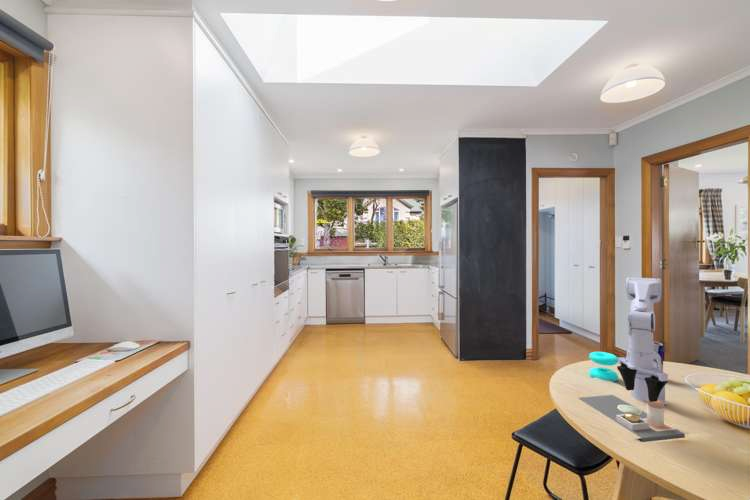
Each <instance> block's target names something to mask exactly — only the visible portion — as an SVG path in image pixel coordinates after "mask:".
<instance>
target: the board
mask: <svg viewBox="0 0 750 500" xmlns="http://www.w3.org/2000/svg"><path fill="white" fill-rule="evenodd" d="M578 399H579V400H580V401H581V402H583V403H585V404H586V405H588V406H590V407H592V408H593V409H594V410H596V411H598V413H601V414H602V415H604V416H605V417H607V418H609V419H611V420H612V421H613V422H615V423H616V424H618V425H621V427H623V428H624V429H627V430H628V431H629V432H631V433H633V434H635V435H636V436H637V440H638V441H639V442H641V443H644V442H645V443H646V442H656V441H665V440H674V439H675V440H677V439H685V438H686V437H685V436H686V435H685V432H682V431H681V430H679V429H677V428H675V427H673V426H671V425H669V424H667V423H666V422H664V427H663V428H658V427H654V426H651V425H649V423H648V422H647V412H645V411H643V410H641V409H640V408H637V407H636V406H634V405H632V404H630V403H628V402H627V401H625V400H622V399H621V398H619V397H617V396H616V395H614V394H610V395H609V394H608V395H598V396H585V397H584V396H583V397H578ZM625 412H632V413H635V414H638V415H639V416H640V423H631V422H629V421H628V420H626V419H625ZM638 437H640V438H638Z"/></svg>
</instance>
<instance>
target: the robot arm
mask: <svg viewBox="0 0 750 500" xmlns="http://www.w3.org/2000/svg"><path fill="white" fill-rule="evenodd" d="M625 292H626V296H627V298H628V300H630V310H629V311H628V312H627V317H626V318H627V321H626V322H627V323H626V324H627V329H628V335H629V336H628V337H629V341H628V344H629V345H628V346H629V349H628V350H627V351H626V357H622V356H620V357H617V358H618V362H617V364H618V366H616V367H617V371H618V372H619V374H620V376H621V377H622V381H623V383H624V387H625V390H626V391H630V396H631V397H632V398H633V399H635V400H637V401H641V402H645V403H647V399H649V401H651V402H656V401H657V400H660V401H662V402H664V406H665V405H668V402H667V401H666V385H667V384H668V381H669V378H668V377H669V375H668V373H666V372H664V371H663V372H662V371H661V357H660V355H659V354H657V353H656V352H655V351H653V342H654V332H655V331H656V315H655V311H654V310H655V309H654V304H655V303H659V302H660V301H661V299H662V279H661V278H659V277H657V278H653V277H651V278H650V277H631V276H628V277H627V278H626V282H625ZM653 358H654V359H653Z"/></svg>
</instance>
